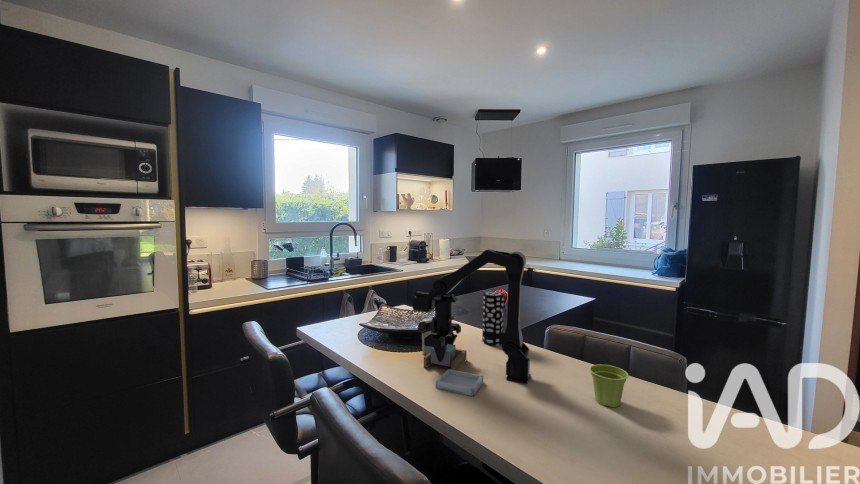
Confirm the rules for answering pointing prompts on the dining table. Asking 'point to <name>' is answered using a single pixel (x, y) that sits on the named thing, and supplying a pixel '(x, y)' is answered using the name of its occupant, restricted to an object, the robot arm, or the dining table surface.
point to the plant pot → (608, 384)
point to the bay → (455, 364)
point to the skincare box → (424, 348)
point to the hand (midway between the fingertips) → (443, 358)
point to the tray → (460, 382)
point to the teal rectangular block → (447, 358)
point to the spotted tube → (492, 317)
